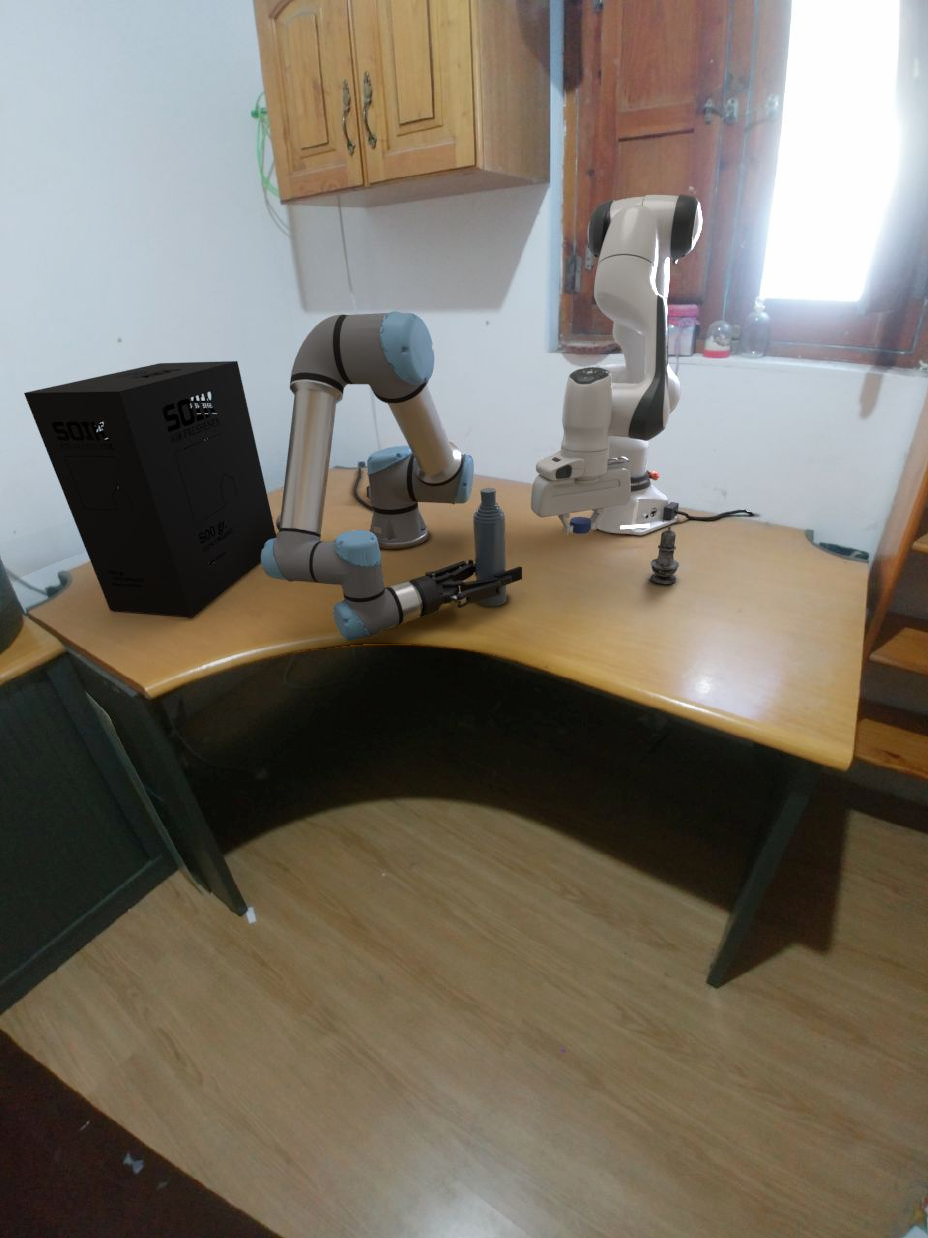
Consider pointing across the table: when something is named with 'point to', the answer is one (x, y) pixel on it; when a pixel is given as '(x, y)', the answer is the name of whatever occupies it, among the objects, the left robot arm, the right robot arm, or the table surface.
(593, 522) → the right robot arm
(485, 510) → the bottle
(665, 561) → the grey tapered ringed piece
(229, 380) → the cardboard box
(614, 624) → the table surface
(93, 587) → the table surface
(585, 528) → the cap
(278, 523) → the eyeball
